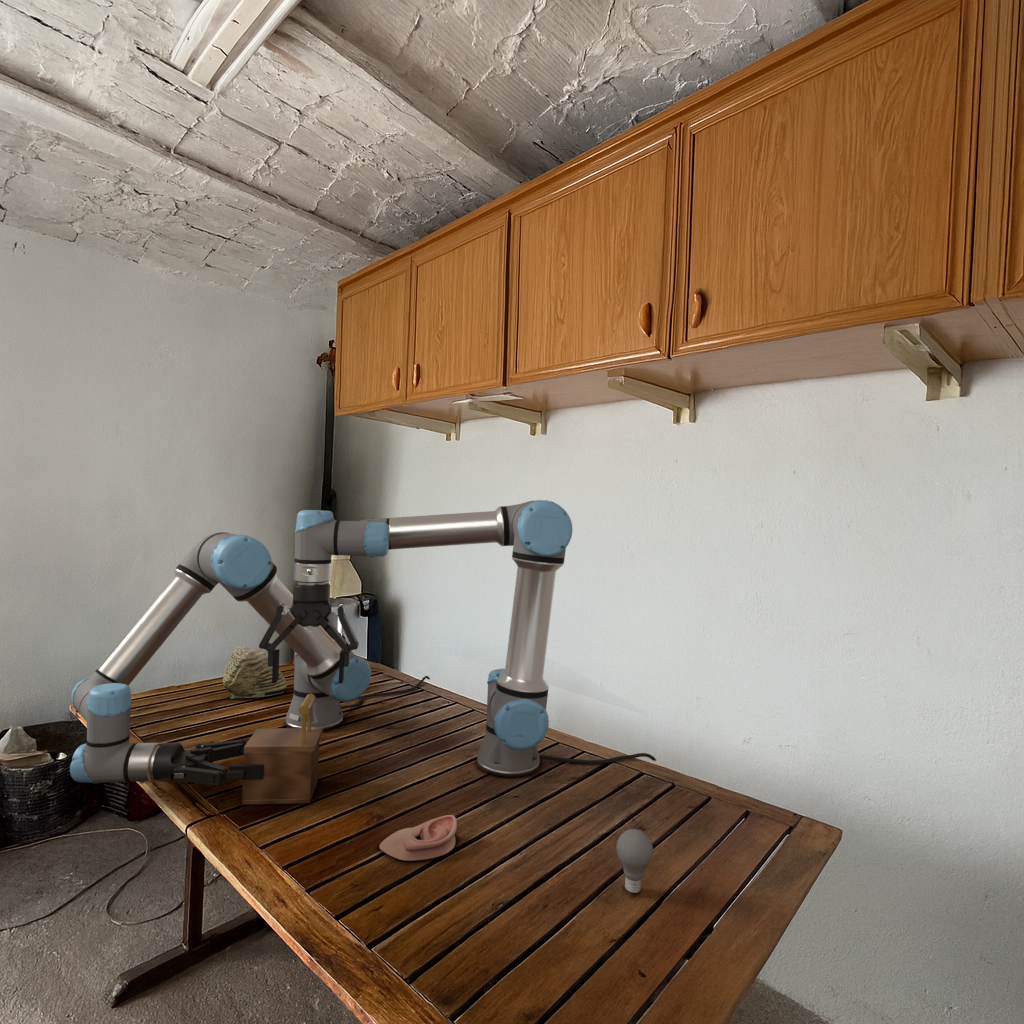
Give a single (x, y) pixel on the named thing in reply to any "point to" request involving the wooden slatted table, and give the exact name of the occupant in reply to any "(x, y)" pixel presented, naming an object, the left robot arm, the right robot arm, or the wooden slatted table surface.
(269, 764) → the chest
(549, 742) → the wooden slatted table surface
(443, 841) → the anatomical model
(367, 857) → the wooden slatted table surface
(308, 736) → the lid
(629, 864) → the light bulb
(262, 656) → the fossil
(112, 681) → the left robot arm
